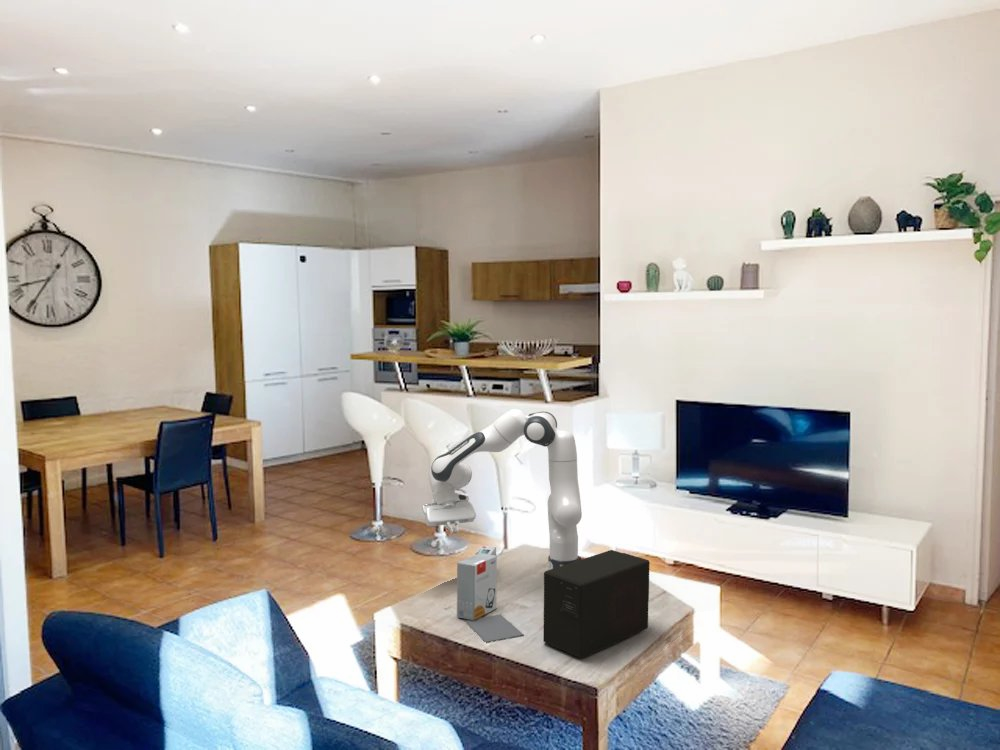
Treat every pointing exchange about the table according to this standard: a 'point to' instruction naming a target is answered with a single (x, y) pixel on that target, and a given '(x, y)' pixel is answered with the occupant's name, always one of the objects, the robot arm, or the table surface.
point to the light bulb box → (487, 550)
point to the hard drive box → (476, 586)
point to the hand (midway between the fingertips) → (454, 532)
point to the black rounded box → (595, 602)
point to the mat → (494, 628)
